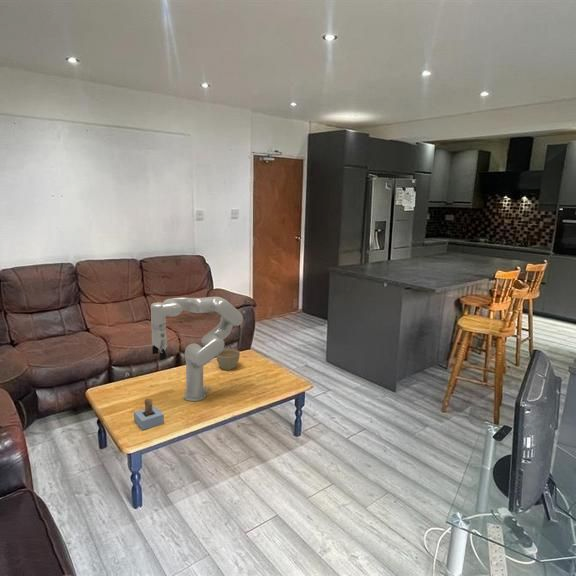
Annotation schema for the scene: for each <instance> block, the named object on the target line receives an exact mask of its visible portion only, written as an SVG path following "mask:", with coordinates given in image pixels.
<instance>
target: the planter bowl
mask: <svg viewBox="0 0 576 576" xmlns="http://www.w3.org/2000/svg"><path fill="white" fill-rule="evenodd" d="M240 355H241V352H240V351H239V350H238V349H235V348H224V349H223V350H222V352H221V353H220V354H219V355H217V356H216V357H215V358H216V361H217V363H218V365H219V366H220V368H222V369H221V370H223V369H224V371H232V370H234V369H235V368H236V365H238V362H239V360H240ZM231 369H232V370H231Z"/></svg>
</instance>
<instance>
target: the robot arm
mask: <svg viewBox="0 0 576 576" xmlns="http://www.w3.org/2000/svg"><path fill="white" fill-rule="evenodd" d="M183 311H185V312H190V313H194V314H203V313H204V314H205V313H206V314H207V313H214V312H216V313H217V314H219V315H220V321H219V323H218V324H217V326H215V327H214V328H212V329H211V330H210V331H208V332H207V333H206V334H205V335H203V337H202V338H201V344H202V345H200V344H198V343H195V342H193V343H190V344H188V345H187V346H186V347H185V350H184V359H185V370H186V371H185V373H186V375H185V377H186V379H185V381H186V382H185V385H186V386H185V387H186V388H185V389H186V390H185V393H184V394H183V399H185V400H186V401H189V402H197V401H198V402H199V401H203V400H205V398H206V396H207V393H206V392H208V391H212V388H211V387H210V386H208V387H207V386H204V366H205V365H207V364H209V363H210V362H211V361H212V360H214V359H215V358H216V356H217V355H219V354H220V353H221V352H222V350H223V349H225V341H224V340H225V339H226V338H227V337H228V336H229V335H230V334H231V332H232V329H233V327H238V326H240V325H241V324H242V323H243V321H244V320H243V319H244V316H243V314H242V312H240V310H239V309H237V308H236V307H235V306H234V305H233V304H231V303H230V302H229V301H228V300H227V299H225V298H223V297H221V296H206V297H174V298H173V297H172V298H167V299H165V300H163V302H158V301H157V302H153V303H151V305H150V327H151V328H150V329H151V337H150V339H151V346H152V355H157V354H159V360H160V361H163V360H167V351H168V350H167V348H168V335H167V330H166V329H167V317H171V318H172V317H178V316H179V315H181V313H182V312H183ZM202 346H203V347H202Z"/></svg>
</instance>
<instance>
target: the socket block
mask: <svg viewBox="0 0 576 576" xmlns="http://www.w3.org/2000/svg"><path fill="white" fill-rule="evenodd" d="M152 411H153V415H150V416H147V417H145V408H142V409H139V410H136V411H133V421H134V423H135V424H136V425H137V426H138V427H139V428H140V430H141V431H145V430H149V429H151V428H154V427H158V426H161V425H163V424H164V423H165V422H164V421H165V415H164V413H163V412H162V411H161V410H160V409H159V408H158V407H157V406H156V405H154V406H153V405H152Z"/></svg>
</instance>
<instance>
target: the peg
mask: <svg viewBox="0 0 576 576" xmlns="http://www.w3.org/2000/svg"><path fill="white" fill-rule="evenodd" d="M152 407H153V399H152V398H146V399H145V400H144V409H145V417H147V416H150V415H153V411H152Z"/></svg>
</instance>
